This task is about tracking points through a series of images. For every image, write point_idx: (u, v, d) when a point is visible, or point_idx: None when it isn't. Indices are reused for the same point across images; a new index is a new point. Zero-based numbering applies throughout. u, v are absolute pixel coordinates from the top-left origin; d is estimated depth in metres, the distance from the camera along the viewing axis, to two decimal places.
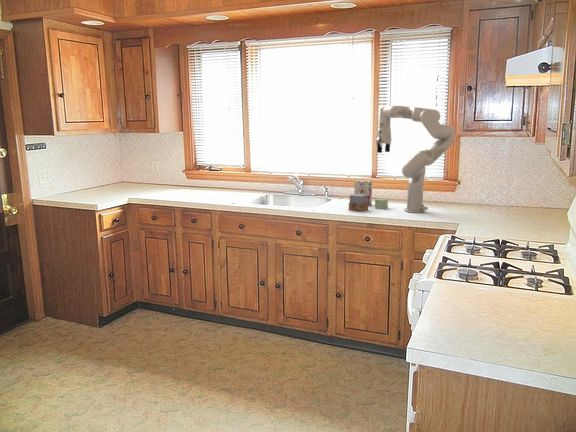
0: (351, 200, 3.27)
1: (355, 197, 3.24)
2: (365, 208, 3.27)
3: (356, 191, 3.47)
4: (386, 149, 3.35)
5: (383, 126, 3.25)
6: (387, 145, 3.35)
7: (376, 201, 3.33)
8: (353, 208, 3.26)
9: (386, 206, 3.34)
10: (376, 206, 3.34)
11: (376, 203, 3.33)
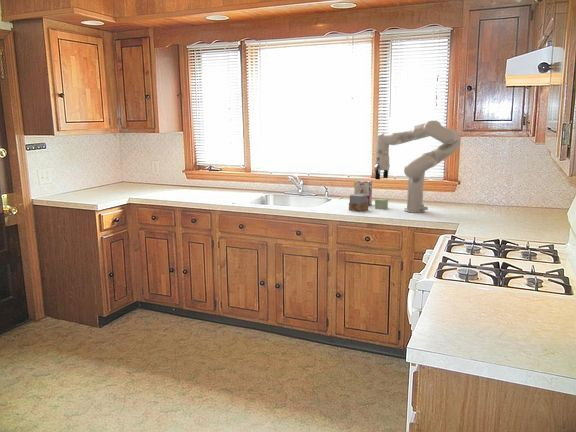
0: (351, 200, 3.26)
1: (355, 197, 3.24)
2: (365, 208, 3.27)
3: (356, 191, 3.47)
4: (384, 175, 3.35)
5: (381, 153, 3.24)
6: (385, 171, 3.34)
7: (376, 201, 3.33)
8: (353, 208, 3.26)
9: (386, 206, 3.34)
10: (376, 206, 3.34)
11: (376, 203, 3.33)
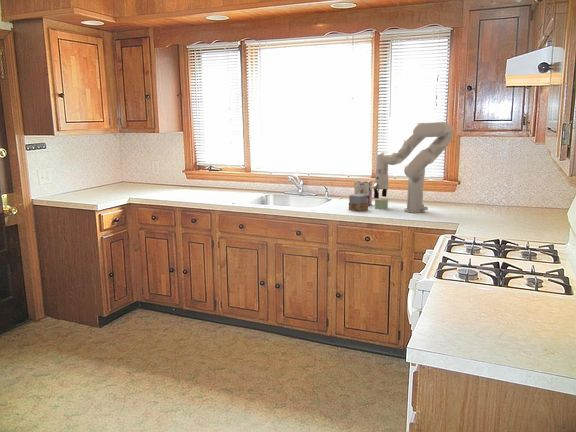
0: (351, 200, 3.27)
1: (354, 197, 3.24)
2: (365, 208, 3.27)
3: (356, 191, 3.47)
4: (383, 194, 3.37)
5: (381, 172, 3.27)
6: (384, 190, 3.36)
7: (376, 201, 3.33)
8: (353, 208, 3.26)
9: (386, 206, 3.34)
10: (376, 206, 3.34)
11: (376, 203, 3.33)
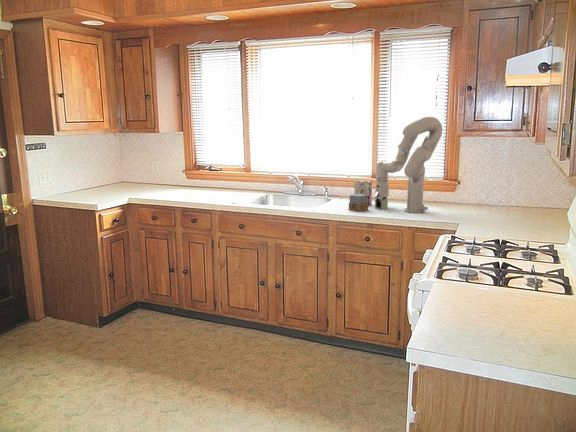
0: (351, 200, 3.27)
1: (355, 197, 3.24)
2: (365, 208, 3.27)
3: (356, 191, 3.47)
4: None
5: (381, 180, 3.28)
6: None
7: None
8: (353, 208, 3.26)
9: (386, 206, 3.34)
10: None
11: None
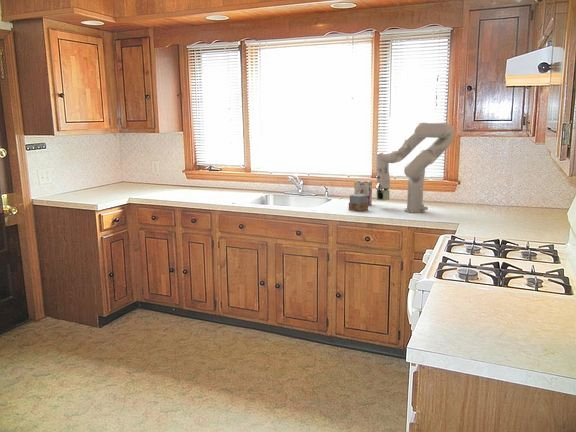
0: (351, 200, 3.27)
1: (355, 197, 3.24)
2: (365, 208, 3.27)
3: (356, 191, 3.47)
4: None
5: (381, 171, 3.27)
6: None
7: None
8: (353, 208, 3.26)
9: (388, 197, 3.32)
10: None
11: None
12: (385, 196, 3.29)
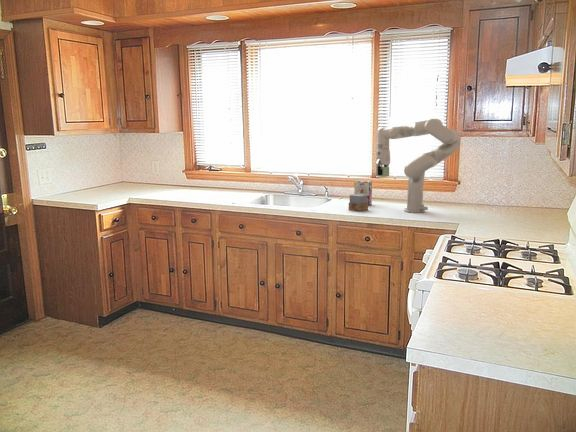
0: (351, 200, 3.27)
1: (355, 197, 3.24)
2: (365, 208, 3.27)
3: (356, 191, 3.47)
4: None
5: (382, 147, 3.24)
6: None
7: (377, 169, 3.29)
8: (353, 208, 3.26)
9: (388, 174, 3.29)
10: (377, 174, 3.29)
11: (377, 171, 3.29)
12: (385, 172, 3.27)
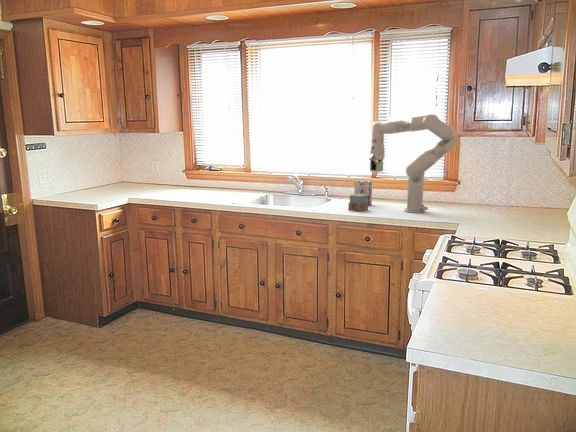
0: (351, 200, 3.27)
1: (355, 197, 3.24)
2: (365, 208, 3.27)
3: (356, 191, 3.47)
4: None
5: (376, 142, 3.22)
6: None
7: None
8: (353, 208, 3.26)
9: (381, 169, 3.28)
10: None
11: None
12: (378, 167, 3.25)
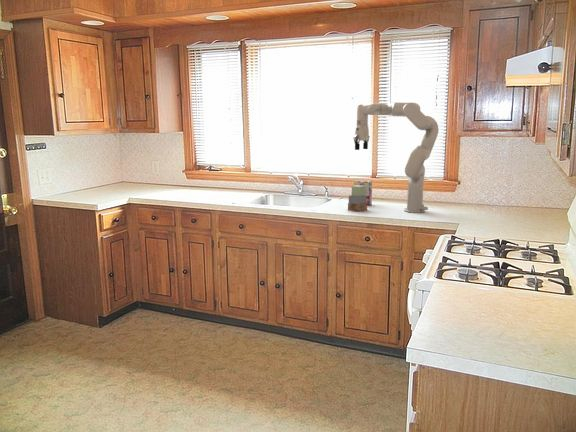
0: (350, 200, 3.26)
1: (354, 197, 3.23)
2: (364, 208, 3.27)
3: None
4: (364, 146, 3.37)
5: (360, 123, 3.27)
6: (365, 142, 3.36)
7: (353, 188, 3.25)
8: (353, 209, 3.25)
9: (363, 193, 3.26)
10: (353, 193, 3.25)
11: (353, 190, 3.25)
12: (360, 192, 3.23)
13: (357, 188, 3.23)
